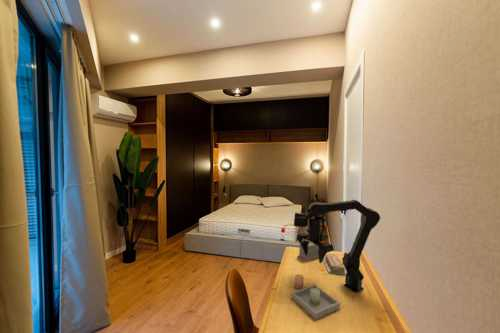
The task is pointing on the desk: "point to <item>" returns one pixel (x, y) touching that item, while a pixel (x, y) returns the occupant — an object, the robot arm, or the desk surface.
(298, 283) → the terracotta part
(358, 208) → the robot arm
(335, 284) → the desk surface
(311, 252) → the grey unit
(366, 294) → the desk surface
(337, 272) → the packaged product
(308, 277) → the desk surface
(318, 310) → the tray
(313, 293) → the sage part
